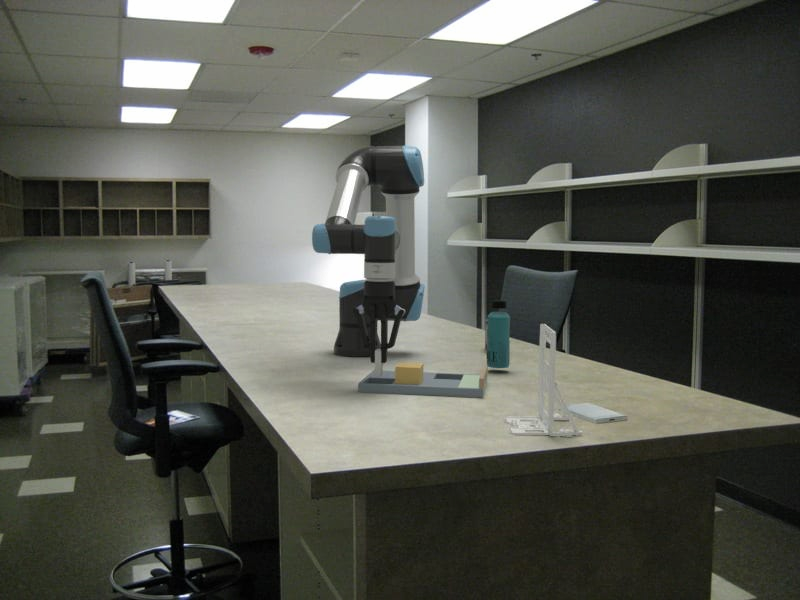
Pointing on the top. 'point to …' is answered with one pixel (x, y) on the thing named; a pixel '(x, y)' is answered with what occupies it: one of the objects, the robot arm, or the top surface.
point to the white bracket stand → (546, 385)
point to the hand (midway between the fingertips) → (378, 375)
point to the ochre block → (409, 373)
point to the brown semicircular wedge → (486, 333)
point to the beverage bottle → (498, 337)
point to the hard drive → (594, 413)
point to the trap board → (428, 384)
